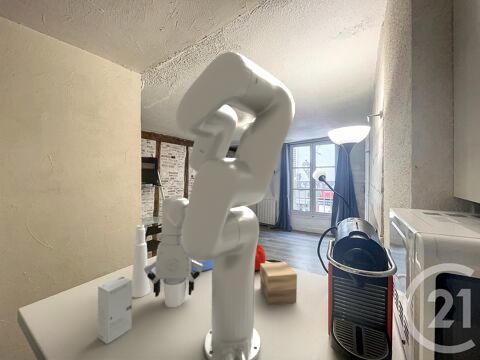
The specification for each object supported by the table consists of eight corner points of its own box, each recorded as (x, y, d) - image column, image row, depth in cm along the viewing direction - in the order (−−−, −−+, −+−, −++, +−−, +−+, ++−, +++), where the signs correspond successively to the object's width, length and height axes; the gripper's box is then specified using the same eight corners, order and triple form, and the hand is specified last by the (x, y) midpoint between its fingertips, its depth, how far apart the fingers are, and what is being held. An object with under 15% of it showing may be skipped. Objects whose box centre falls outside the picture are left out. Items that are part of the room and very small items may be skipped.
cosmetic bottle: (144, 285, 71) (144, 222, 70) (154, 291, 67) (154, 225, 67) (126, 293, 66) (126, 225, 65) (136, 300, 62) (136, 228, 62)
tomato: (249, 276, 78) (249, 253, 78) (235, 264, 88) (235, 243, 88) (271, 271, 83) (272, 249, 82) (256, 260, 93) (256, 240, 93)
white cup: (185, 307, 59) (185, 283, 59) (160, 309, 58) (160, 285, 58) (187, 294, 66) (187, 272, 66) (165, 295, 65) (165, 274, 65)
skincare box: (107, 345, 46) (107, 292, 46) (96, 337, 48) (96, 286, 48) (133, 327, 51) (133, 279, 51) (122, 321, 53) (122, 275, 53)
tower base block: (296, 302, 62) (296, 288, 62) (268, 305, 61) (268, 290, 61) (285, 287, 71) (285, 274, 71) (260, 289, 70) (260, 276, 70)
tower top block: (296, 288, 62) (296, 274, 62) (268, 291, 60) (268, 276, 60) (285, 274, 71) (285, 261, 71) (260, 276, 69) (260, 263, 69)
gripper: (140, 242, 57) (139, 302, 58) (203, 241, 59) (202, 299, 60) (148, 234, 64) (148, 287, 65) (204, 233, 67) (203, 285, 67)
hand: (174, 293), depth 62 cm, fingers open, 9 cm apart
